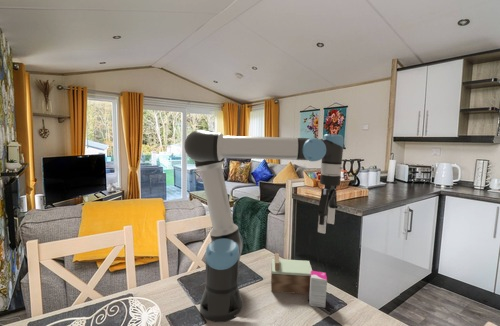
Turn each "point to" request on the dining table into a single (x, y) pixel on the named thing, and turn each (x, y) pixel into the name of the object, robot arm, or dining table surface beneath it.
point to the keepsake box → (290, 283)
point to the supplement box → (317, 289)
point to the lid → (290, 267)
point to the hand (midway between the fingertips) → (326, 227)
